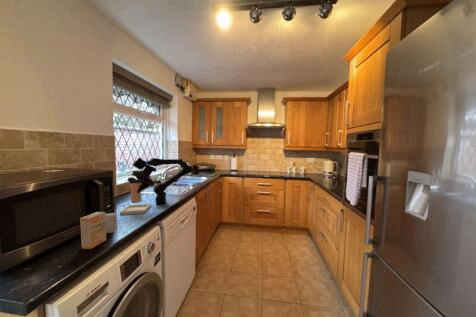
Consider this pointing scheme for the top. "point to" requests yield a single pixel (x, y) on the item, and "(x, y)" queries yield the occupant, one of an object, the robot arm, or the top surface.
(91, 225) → the supplement box
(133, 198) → the reddish-brown tall piece
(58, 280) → the top surface
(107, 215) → the medicine box
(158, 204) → the robot arm
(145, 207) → the tray
